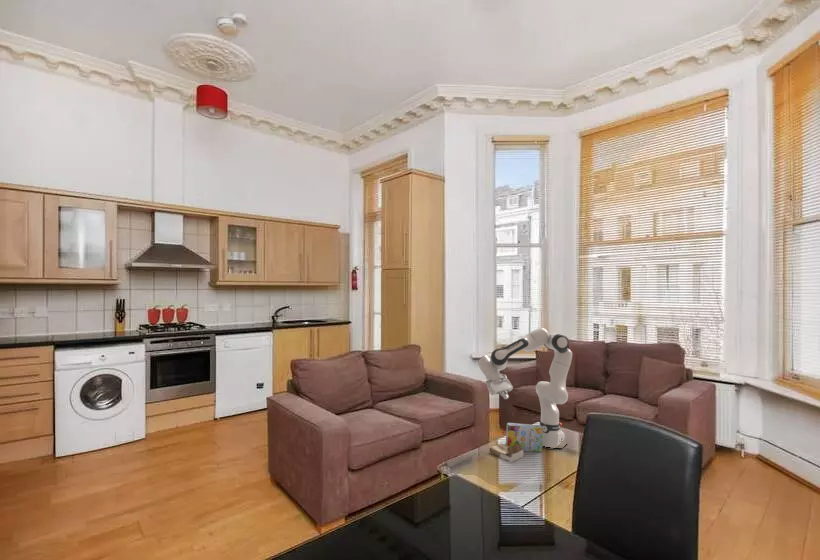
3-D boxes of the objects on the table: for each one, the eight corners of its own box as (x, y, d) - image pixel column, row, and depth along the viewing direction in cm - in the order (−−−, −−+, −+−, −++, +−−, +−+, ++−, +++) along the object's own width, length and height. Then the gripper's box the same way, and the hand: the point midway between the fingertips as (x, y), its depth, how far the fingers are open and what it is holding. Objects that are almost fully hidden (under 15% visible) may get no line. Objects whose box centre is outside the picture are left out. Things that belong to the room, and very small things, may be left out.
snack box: (539, 449, 256) (541, 424, 257) (542, 452, 251) (543, 427, 251) (505, 446, 258) (506, 422, 258) (506, 449, 252) (508, 425, 253)
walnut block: (510, 447, 244) (519, 442, 240) (514, 453, 242) (522, 449, 238) (506, 448, 241) (515, 444, 237) (510, 455, 240) (518, 451, 236)
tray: (511, 452, 248) (512, 445, 248) (523, 457, 242) (523, 450, 242) (499, 456, 240) (500, 450, 240) (511, 461, 234) (511, 454, 234)
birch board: (501, 448, 254) (501, 443, 254) (516, 454, 246) (516, 449, 246) (489, 452, 246) (489, 447, 246) (504, 458, 238) (504, 453, 238)
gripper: (487, 378, 252) (500, 398, 244) (507, 374, 265) (519, 393, 258) (481, 383, 255) (493, 403, 247) (501, 380, 268) (513, 398, 261)
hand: (507, 398), depth 253 cm, fingers closed
